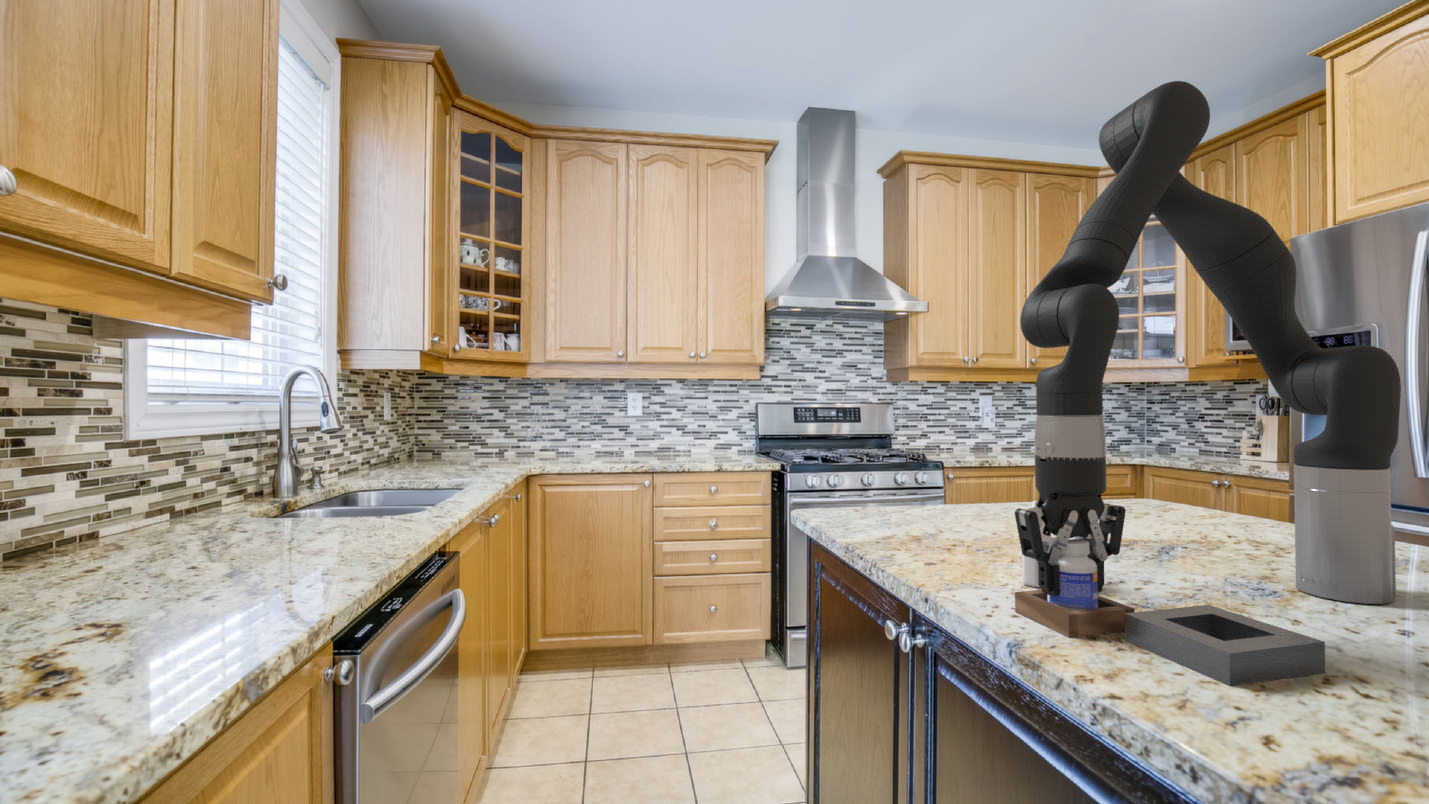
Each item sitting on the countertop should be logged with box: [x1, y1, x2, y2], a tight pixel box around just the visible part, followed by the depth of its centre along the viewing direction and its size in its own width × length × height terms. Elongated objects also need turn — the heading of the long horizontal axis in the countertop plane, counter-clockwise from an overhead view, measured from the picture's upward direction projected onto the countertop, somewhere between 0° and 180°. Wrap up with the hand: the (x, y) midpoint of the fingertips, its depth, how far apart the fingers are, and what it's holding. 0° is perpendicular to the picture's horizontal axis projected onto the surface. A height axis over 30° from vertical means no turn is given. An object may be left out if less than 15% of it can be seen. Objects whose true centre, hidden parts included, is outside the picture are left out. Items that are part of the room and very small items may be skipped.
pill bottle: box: [1047, 537, 1099, 611], centre depth 76 cm, size 5×5×10 cm
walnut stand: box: [1014, 589, 1136, 638], centre depth 76 cm, size 9×9×2 cm
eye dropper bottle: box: [1021, 500, 1051, 588], centre depth 92 cm, size 4×6×12 cm
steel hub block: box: [1124, 604, 1326, 686], centre depth 65 cm, size 12×12×3 cm
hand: (1071, 591), depth 76 cm, fingers closed on pill bottle, 5 cm apart
